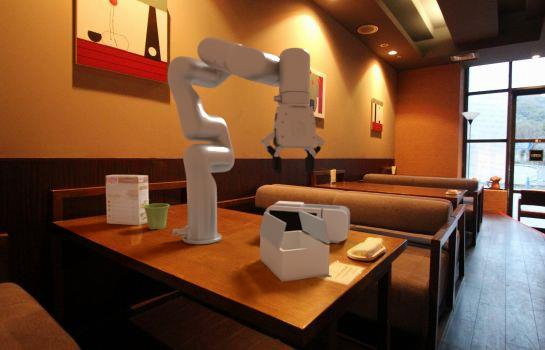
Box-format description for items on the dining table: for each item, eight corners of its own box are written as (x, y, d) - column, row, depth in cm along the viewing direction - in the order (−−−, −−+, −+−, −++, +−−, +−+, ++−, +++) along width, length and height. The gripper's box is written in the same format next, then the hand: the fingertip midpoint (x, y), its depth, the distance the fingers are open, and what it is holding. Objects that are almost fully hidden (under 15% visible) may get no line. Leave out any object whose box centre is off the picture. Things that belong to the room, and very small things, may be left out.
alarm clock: (265, 237, 109) (265, 203, 108) (273, 231, 118) (274, 199, 117) (346, 245, 100) (347, 208, 99) (349, 238, 109) (350, 204, 108)
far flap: (323, 220, 75) (324, 219, 76) (298, 210, 88) (299, 209, 89) (328, 244, 76) (330, 243, 76) (302, 230, 89) (304, 229, 90)
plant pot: (175, 227, 123) (174, 204, 122) (154, 232, 115) (154, 208, 115) (159, 224, 128) (159, 202, 127) (138, 228, 120) (138, 206, 120)
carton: (282, 281, 72) (282, 251, 71) (260, 259, 87) (260, 234, 86) (328, 275, 76) (329, 246, 75) (300, 254, 91) (300, 230, 90)
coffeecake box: (149, 222, 132) (148, 174, 130) (138, 225, 125) (137, 176, 123) (118, 220, 135) (117, 174, 134) (106, 223, 128) (104, 175, 127)
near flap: (279, 249, 72) (277, 248, 72) (260, 234, 85) (258, 233, 85) (286, 223, 72) (284, 222, 72) (266, 212, 85) (264, 211, 85)
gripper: (265, 97, 72) (265, 174, 73) (333, 101, 78) (331, 173, 79) (255, 102, 79) (255, 172, 80) (318, 106, 85) (317, 171, 86)
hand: (293, 172), depth 80 cm, fingers open, 8 cm apart
